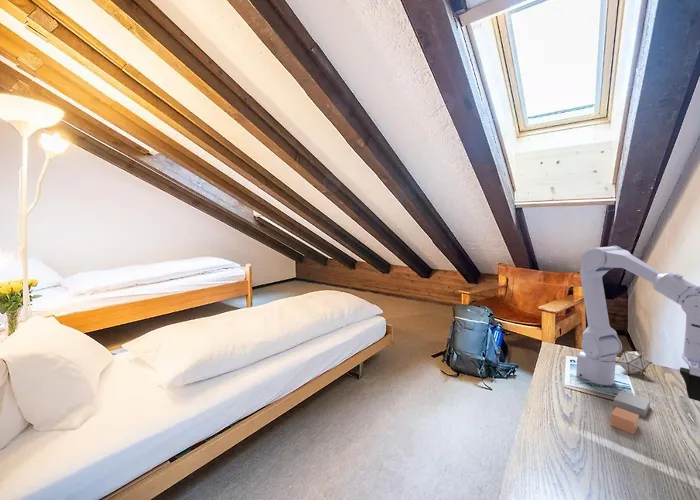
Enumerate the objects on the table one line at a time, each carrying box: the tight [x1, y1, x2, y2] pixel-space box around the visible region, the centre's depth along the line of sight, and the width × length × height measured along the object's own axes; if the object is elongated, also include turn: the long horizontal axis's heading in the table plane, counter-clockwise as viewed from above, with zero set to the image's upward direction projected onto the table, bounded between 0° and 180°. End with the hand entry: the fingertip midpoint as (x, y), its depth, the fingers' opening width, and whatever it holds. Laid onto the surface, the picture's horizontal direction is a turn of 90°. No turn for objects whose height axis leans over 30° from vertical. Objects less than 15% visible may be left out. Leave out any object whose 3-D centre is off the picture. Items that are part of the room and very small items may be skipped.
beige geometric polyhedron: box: [615, 348, 653, 377], centre depth 106 cm, size 9×8×10 cm
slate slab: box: [613, 390, 651, 417], centre depth 87 cm, size 6×6×2 cm
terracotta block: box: [609, 407, 640, 435], centre depth 80 cm, size 4×4×4 cm
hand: (697, 393), depth 79 cm, fingers open, 7 cm apart
